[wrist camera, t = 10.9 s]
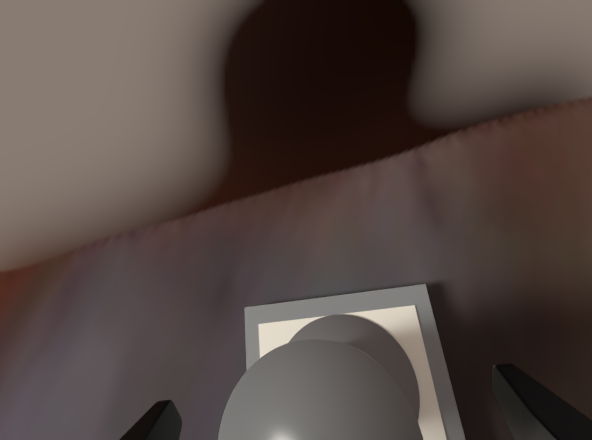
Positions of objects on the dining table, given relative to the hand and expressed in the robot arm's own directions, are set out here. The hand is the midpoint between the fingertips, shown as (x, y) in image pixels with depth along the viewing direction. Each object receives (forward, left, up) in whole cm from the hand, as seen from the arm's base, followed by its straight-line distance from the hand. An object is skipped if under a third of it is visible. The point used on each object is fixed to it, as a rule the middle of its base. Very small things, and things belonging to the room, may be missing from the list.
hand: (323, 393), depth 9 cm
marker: (-1, 0, -8) cm, 8 cm away
